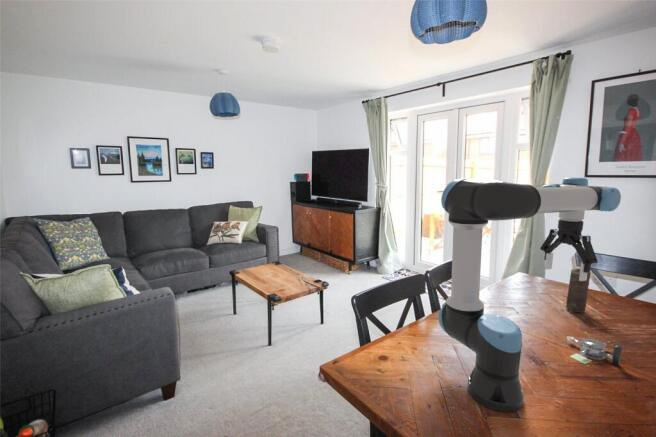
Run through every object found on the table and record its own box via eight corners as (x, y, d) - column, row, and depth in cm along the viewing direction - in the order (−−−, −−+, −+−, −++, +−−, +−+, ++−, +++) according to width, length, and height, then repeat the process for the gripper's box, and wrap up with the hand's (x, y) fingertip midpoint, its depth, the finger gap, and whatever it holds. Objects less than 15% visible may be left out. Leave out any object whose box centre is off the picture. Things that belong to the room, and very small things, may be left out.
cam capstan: (607, 371, 109) (609, 353, 108) (554, 345, 124) (556, 329, 123) (631, 360, 115) (634, 342, 114) (578, 337, 130) (580, 321, 129)
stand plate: (601, 375, 109) (601, 372, 109) (560, 355, 121) (560, 351, 120) (634, 360, 117) (634, 357, 117) (592, 342, 129) (593, 339, 128)
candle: (588, 315, 151) (594, 273, 147) (570, 313, 152) (575, 272, 149) (579, 308, 158) (584, 267, 155) (562, 306, 160) (567, 267, 156)
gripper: (615, 224, 112) (607, 284, 115) (547, 214, 135) (542, 263, 139) (599, 226, 110) (591, 287, 113) (533, 215, 133) (528, 265, 137)
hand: (564, 274), depth 126 cm, fingers open, 13 cm apart
